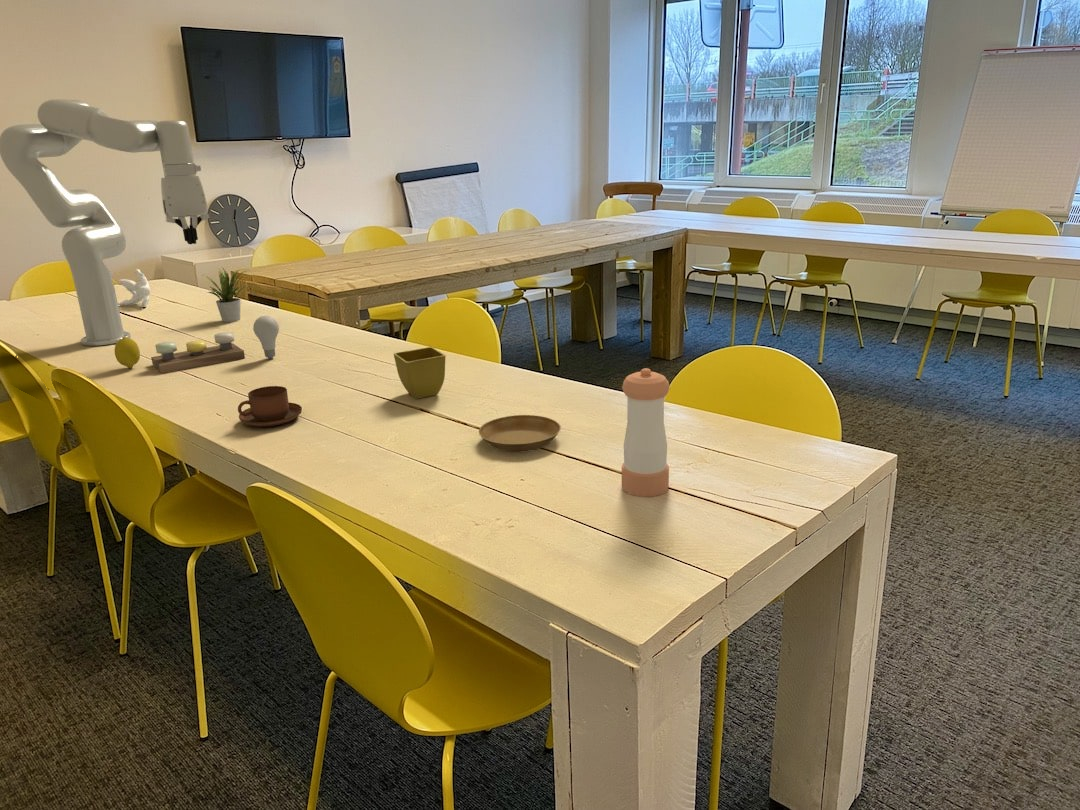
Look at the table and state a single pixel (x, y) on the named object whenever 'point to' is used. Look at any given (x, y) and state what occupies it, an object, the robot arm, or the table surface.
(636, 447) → the pepper shaker
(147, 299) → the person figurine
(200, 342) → the yellow button
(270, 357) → the lightbulb
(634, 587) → the table surface
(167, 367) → the button board
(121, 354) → the lemon
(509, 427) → the plant saucer
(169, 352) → the sage button
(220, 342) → the grey button
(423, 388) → the flower pot
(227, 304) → the house plant
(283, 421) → the cup and saucer
